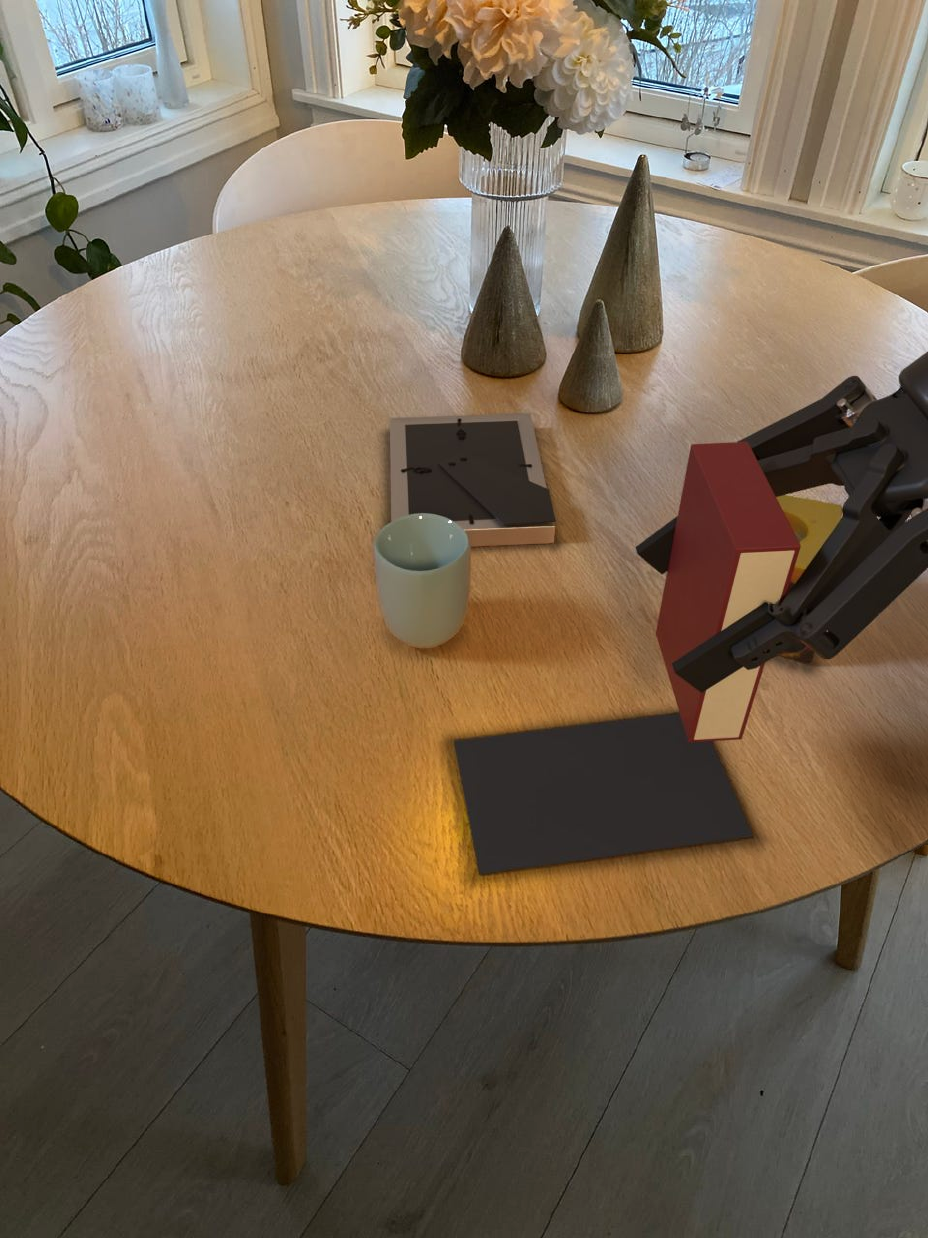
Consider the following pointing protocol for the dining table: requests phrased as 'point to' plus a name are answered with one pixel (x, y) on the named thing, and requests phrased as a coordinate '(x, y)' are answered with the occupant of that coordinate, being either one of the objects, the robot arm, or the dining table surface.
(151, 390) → the dining table surface
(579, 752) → the mat
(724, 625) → the book
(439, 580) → the cup
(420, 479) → the picture frame
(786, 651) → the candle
